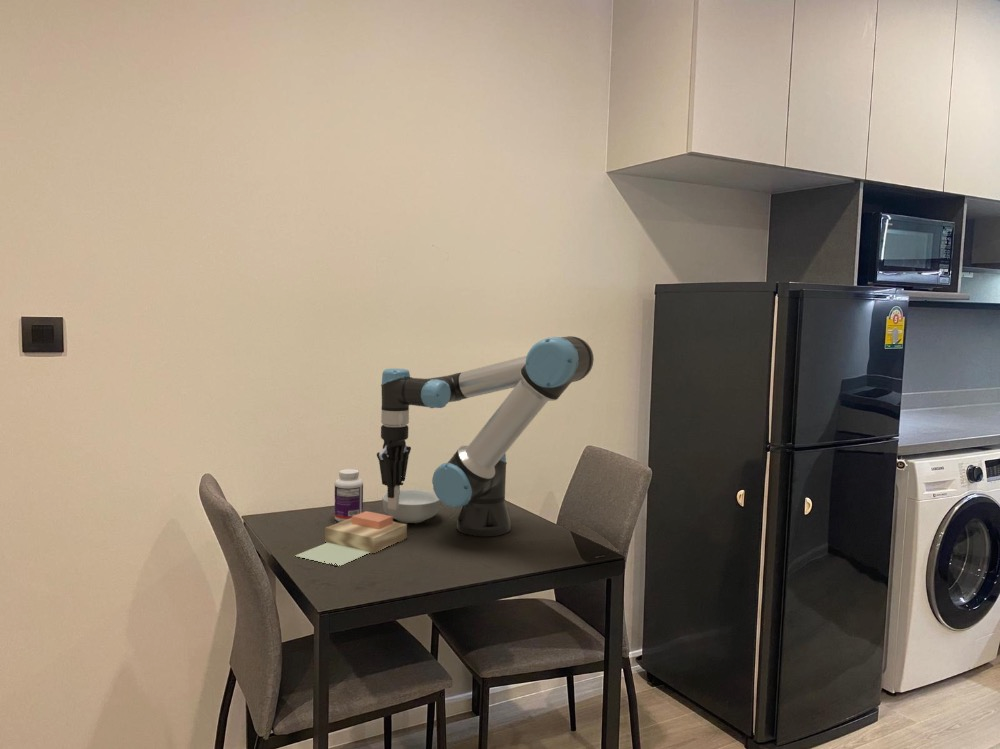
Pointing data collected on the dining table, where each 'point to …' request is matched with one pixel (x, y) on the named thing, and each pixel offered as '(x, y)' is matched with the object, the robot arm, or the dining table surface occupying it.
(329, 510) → the dining table surface
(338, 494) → the pill bottle
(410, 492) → the cereal bowl
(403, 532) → the wooden block
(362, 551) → the mat
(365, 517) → the pink rectangular block
